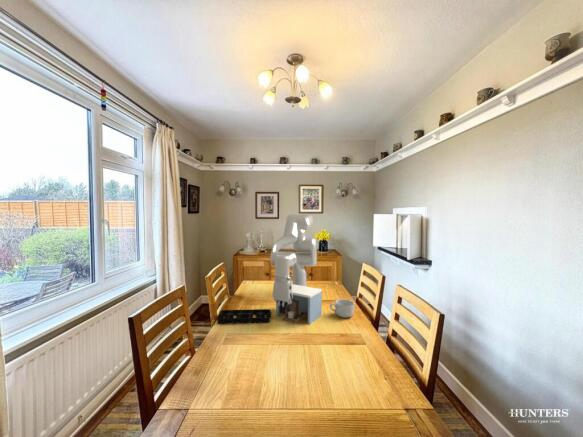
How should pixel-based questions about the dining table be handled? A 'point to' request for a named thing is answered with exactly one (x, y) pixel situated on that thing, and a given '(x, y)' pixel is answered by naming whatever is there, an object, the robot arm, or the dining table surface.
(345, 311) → the teacup
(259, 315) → the egg carton
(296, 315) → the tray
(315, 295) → the white step stool
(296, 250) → the robot arm
